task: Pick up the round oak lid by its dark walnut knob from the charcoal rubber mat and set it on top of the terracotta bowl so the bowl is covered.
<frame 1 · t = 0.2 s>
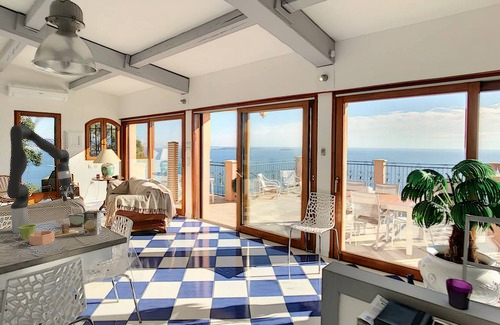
hand: (68, 200, 208), 22 cm above the table, tool pointing down, fingers open, 8 cm apart
coffee box: (92, 234, 201), on the table
charcoal mat: (65, 235, 200), on the table
food container: (79, 226, 222), on the table
terracotta bowl: (42, 242, 184), on the table
oak lid: (65, 234, 200), point 1 cm above the table, touching charcoal mat
plant pot: (28, 239, 192), on the table
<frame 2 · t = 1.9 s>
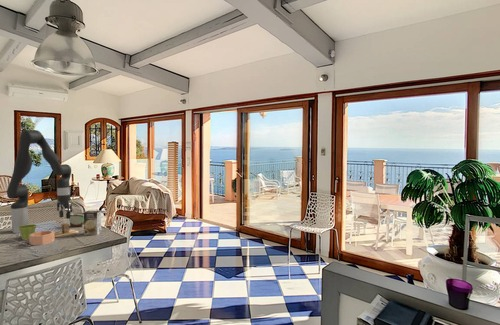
hand: (64, 217, 199), 12 cm above the table, tool pointing down, fingers open, 8 cm apart
nothing on the table moved.
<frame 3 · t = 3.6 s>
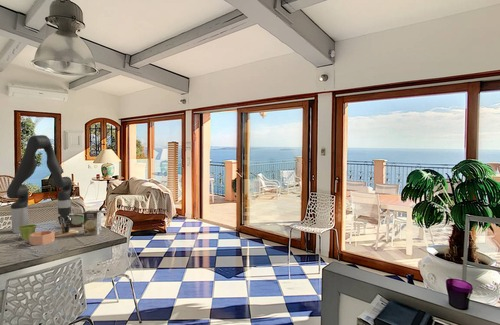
hand: (65, 231, 200), 3 cm above the table, tool pointing down, fingers closed on oak lid, 3 cm apart
oak lid: (65, 234, 200), point 1 cm above the table, touching charcoal mat, gripper
everything else where it was.
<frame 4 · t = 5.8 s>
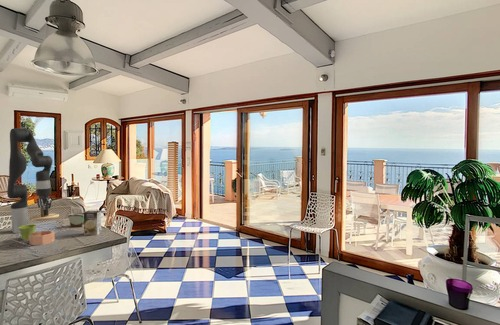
hand: (44, 214, 185), 17 cm above the table, tool pointing down, fingers closed on oak lid, 3 cm apart
oak lid: (44, 217, 185), point 15 cm above the table, touching gripper
everything else where it was.
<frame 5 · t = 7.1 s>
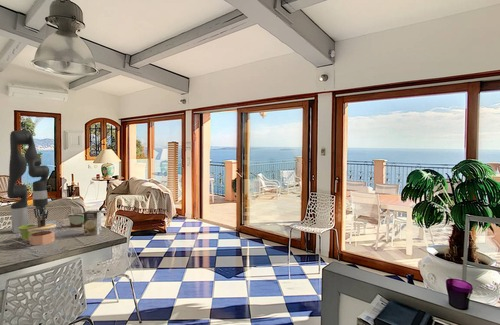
hand: (41, 225, 184), 11 cm above the table, tool pointing down, fingers closed on oak lid, 3 cm apart
oak lid: (41, 228, 184), point 9 cm above the table, touching gripper
everything else where it was.
when the fingers open (8 cm above the table, at t = 8.3 s): oak lid stays where it is, resting on terracotta bowl.
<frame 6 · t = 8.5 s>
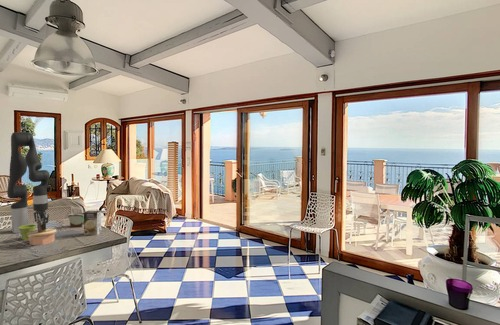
hand: (41, 229, 184), 9 cm above the table, tool pointing down, fingers open, 4 cm apart
oak lid: (41, 233, 184), point 6 cm above the table, touching terracotta bowl
everything else where it was.
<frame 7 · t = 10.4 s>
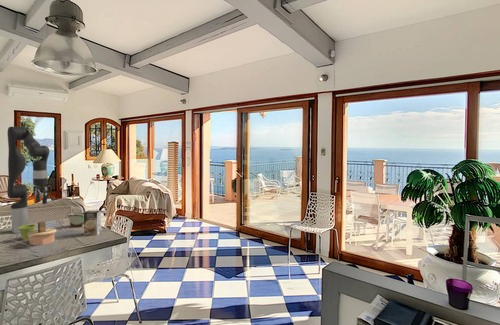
hand: (41, 202, 186), 25 cm above the table, tool pointing down, fingers open, 8 cm apart
nothing on the table moved.
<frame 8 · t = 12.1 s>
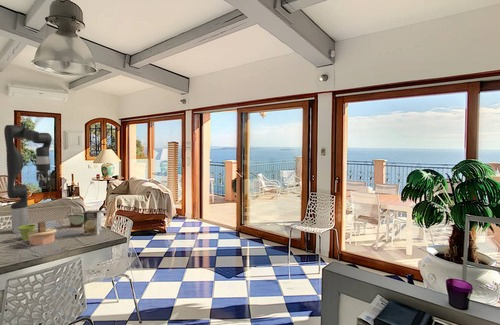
hand: (44, 187, 194), 33 cm above the table, tool pointing down, fingers open, 8 cm apart
nothing on the table moved.
at the end: oak lid 0.1 cm from the terracotta bowl (horizontally); oak lid point 6.0 cm above the table; oak lid tilted 0° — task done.
